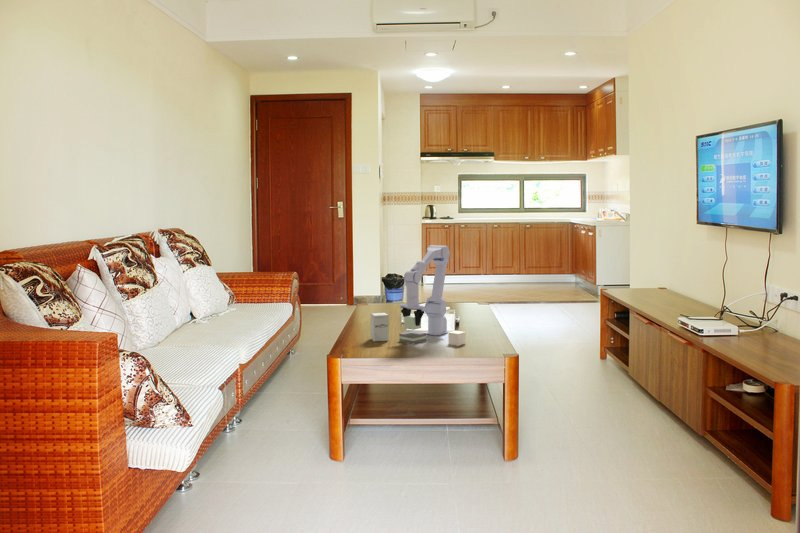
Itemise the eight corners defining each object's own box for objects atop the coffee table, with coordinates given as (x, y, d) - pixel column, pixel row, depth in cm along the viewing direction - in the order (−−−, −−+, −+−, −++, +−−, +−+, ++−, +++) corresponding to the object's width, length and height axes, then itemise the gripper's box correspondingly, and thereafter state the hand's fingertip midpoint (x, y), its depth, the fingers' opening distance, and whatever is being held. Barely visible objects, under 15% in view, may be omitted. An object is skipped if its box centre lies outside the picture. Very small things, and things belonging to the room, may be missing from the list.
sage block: (411, 326, 326) (411, 315, 326) (421, 328, 322) (420, 316, 322) (404, 328, 322) (404, 316, 321) (413, 329, 318) (413, 318, 318)
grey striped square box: (412, 338, 329) (412, 330, 329) (426, 341, 323) (426, 333, 323) (399, 341, 323) (399, 333, 322) (413, 344, 316) (413, 336, 316)
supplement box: (373, 342, 321) (373, 315, 320) (370, 338, 329) (370, 313, 327) (389, 340, 323) (388, 314, 322) (385, 337, 330) (384, 312, 329)
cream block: (455, 342, 320) (455, 330, 319) (465, 343, 316) (465, 332, 316) (448, 344, 316) (448, 332, 315) (458, 345, 312) (458, 333, 311)
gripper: (395, 295, 322) (395, 324, 324) (419, 298, 313) (419, 327, 314) (405, 294, 328) (405, 322, 329) (428, 296, 318) (428, 325, 320)
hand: (412, 324), depth 322 cm, fingers closed on sage block, 6 cm apart
